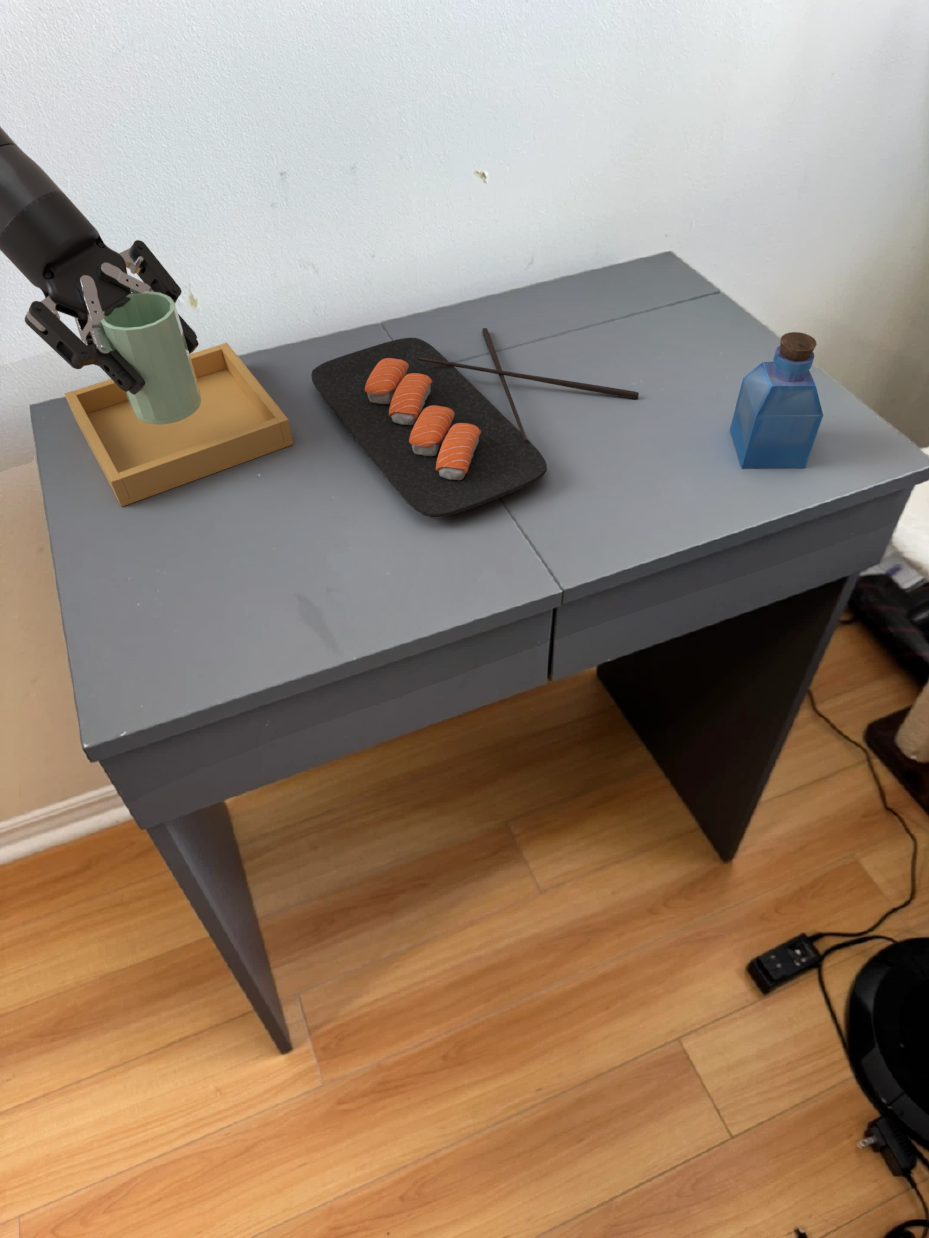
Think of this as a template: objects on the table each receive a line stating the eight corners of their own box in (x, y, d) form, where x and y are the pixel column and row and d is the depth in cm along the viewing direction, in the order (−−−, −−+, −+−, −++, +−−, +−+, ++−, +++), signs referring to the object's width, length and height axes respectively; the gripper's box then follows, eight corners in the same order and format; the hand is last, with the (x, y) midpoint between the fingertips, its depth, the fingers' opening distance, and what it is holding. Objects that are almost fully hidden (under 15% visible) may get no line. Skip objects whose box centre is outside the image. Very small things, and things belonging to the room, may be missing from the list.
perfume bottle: (805, 468, 86) (842, 360, 77) (741, 468, 86) (771, 360, 77) (790, 429, 90) (824, 323, 81) (729, 430, 90) (756, 323, 81)
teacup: (145, 433, 82) (110, 337, 75) (124, 398, 86) (89, 304, 79) (211, 410, 85) (184, 315, 77) (188, 377, 88) (160, 284, 81)
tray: (121, 507, 84) (110, 482, 81) (74, 418, 93) (64, 393, 91) (293, 444, 90) (288, 419, 87) (232, 366, 99) (226, 342, 97)
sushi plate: (303, 383, 97) (298, 353, 94) (532, 310, 106) (533, 280, 103) (426, 539, 80) (424, 507, 77) (684, 435, 89) (691, 403, 86)
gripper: (-30, 227, 70) (126, 392, 75) (100, 161, 78) (232, 314, 83) (-45, 276, 75) (101, 426, 80) (77, 210, 84) (202, 350, 89)
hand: (167, 368), depth 82 cm, fingers closed on teacup, 6 cm apart
